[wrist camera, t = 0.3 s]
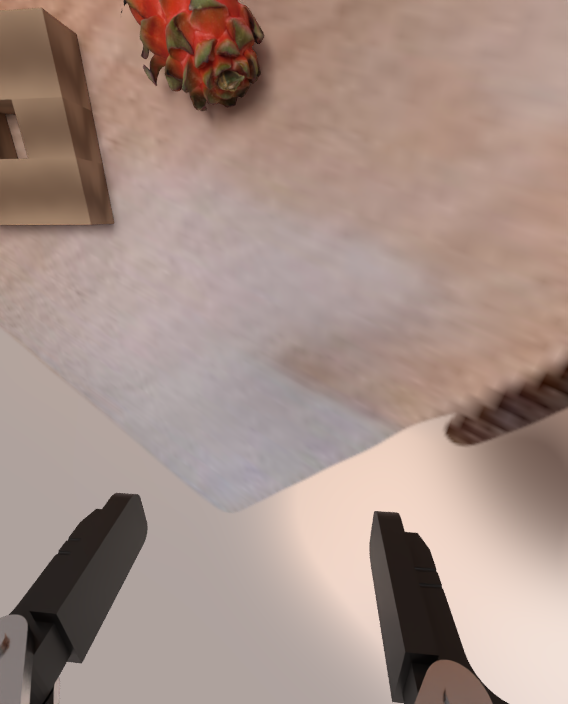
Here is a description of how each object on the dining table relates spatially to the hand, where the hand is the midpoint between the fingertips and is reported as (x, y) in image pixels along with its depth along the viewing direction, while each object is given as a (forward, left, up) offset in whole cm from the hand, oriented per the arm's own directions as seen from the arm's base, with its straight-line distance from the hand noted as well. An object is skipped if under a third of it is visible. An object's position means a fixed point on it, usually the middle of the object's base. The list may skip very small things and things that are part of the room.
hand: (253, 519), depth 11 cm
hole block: (-17, -27, -29) cm, 43 cm away
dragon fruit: (-23, -8, -29) cm, 38 cm away
